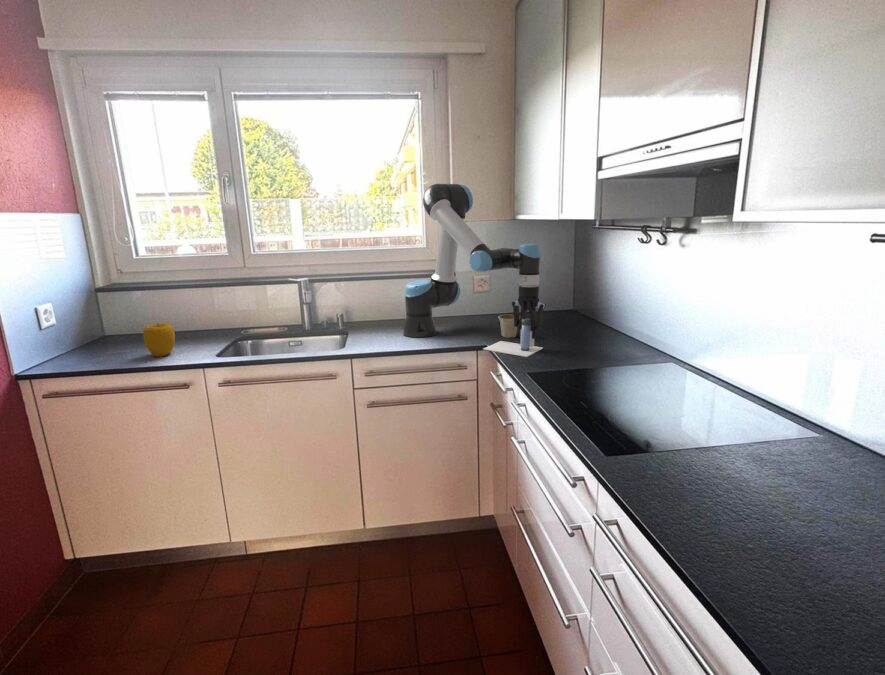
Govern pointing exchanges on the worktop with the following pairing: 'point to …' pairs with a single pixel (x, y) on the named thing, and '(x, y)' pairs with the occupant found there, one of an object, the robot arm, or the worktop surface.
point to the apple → (159, 339)
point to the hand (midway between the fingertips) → (527, 345)
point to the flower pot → (507, 326)
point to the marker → (525, 334)
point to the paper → (512, 349)
